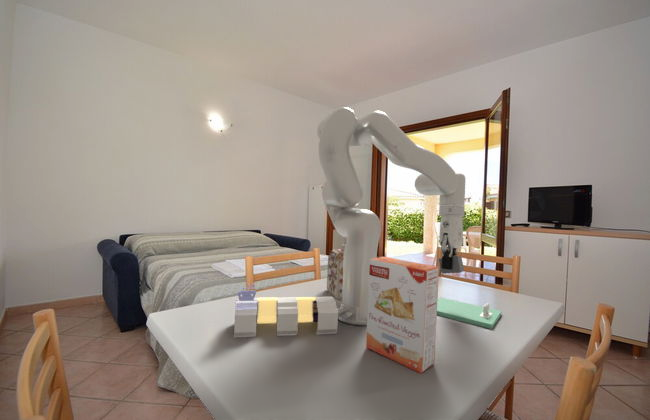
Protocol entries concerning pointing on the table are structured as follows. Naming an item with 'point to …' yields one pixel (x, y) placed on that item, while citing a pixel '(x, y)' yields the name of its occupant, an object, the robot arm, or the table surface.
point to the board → (468, 312)
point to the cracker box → (403, 311)
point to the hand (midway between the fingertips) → (449, 267)
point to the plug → (456, 265)
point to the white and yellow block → (283, 313)
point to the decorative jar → (335, 272)
